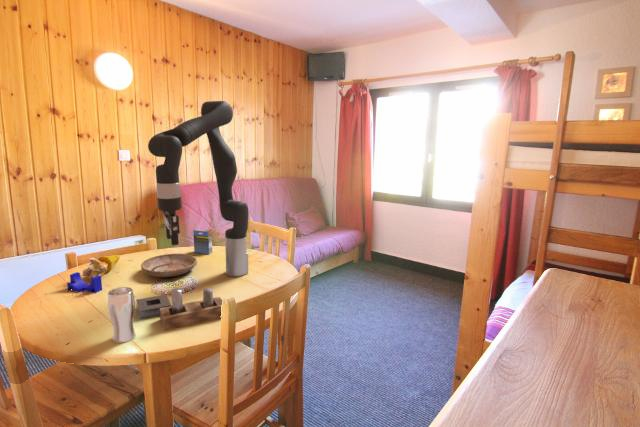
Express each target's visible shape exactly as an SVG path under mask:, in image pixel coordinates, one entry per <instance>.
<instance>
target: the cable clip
mask: <svg viewBox="0 0 640 427" xmlns="http://www.w3.org/2000/svg"><path fill="white" fill-rule="evenodd" d="M69 279H70V281H69V282H67V283H66V286H67V290H68V291H70V290H71V289H72V291H71V292H75V291H77V293H82V292H88V293H94V294H97V293H99V292H101V291H103V284H102V276H96V277H93V278H91V279H90V284H88V283H87V282H85V281H84V280H83V278H82V277H81V272H78V271H77V272H74V273H71V274H69Z"/></svg>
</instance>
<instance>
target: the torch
mask: <svg viewBox="0 0 640 427" xmlns="http://www.w3.org/2000/svg"><path fill="white" fill-rule="evenodd" d="M88 260H89V262H90V264H89V265H88V266H87V268H86V269H83V270H82V277H89V278H88V279H89V280H91V278H93V277H96V276H101V277H103V275H104V274H109V273H110V271H111V270H112V269H113V268H114V267H115V266H116V264H118V262H119V261H120V255H119V254H111V255H104V256H101V257H99V258H95V257H94V256H93V257H90V258H88Z"/></svg>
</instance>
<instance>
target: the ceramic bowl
mask: <svg viewBox="0 0 640 427" xmlns="http://www.w3.org/2000/svg"><path fill="white" fill-rule="evenodd" d="M197 263H198V261H197V258H196V257H195V256H194V255H190V254H185V253H167V254H166V253H165V254H161V255H160V254H159V255H157V256H153V257H149V258H147V259H145V260H143V261H142V263H141V265H140V269H141V270H142V271H143V272H144V273H145V274H148V275H149V276H152V277H157V278H169V277H171V278H172V277H177V276H180V275H184V274H187V273H188V272H190V271H192V270H193V269H194V268H195V267H196V266H197Z"/></svg>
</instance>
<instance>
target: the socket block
mask: <svg viewBox="0 0 640 427" xmlns="http://www.w3.org/2000/svg"><path fill="white" fill-rule="evenodd" d="M169 299H170V298H169V297H168V294H160V295H155V296H149V297H144V298H143V297H142V298H138V299H137V298H136V300H135V302H136V310H137V315H138V319H139V320H144V319H149V318H154V317H160V308H164V307H169V306H172V303H171V301H170V300H169Z"/></svg>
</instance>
